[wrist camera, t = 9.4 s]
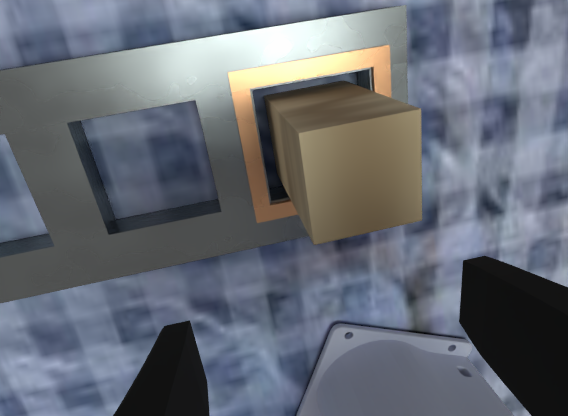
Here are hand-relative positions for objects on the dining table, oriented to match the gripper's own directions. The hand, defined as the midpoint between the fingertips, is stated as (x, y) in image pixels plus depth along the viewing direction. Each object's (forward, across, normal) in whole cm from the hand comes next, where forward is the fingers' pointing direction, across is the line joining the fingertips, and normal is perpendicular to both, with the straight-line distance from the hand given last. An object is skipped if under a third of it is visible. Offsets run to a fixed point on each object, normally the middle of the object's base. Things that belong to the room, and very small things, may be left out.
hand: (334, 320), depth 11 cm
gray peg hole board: (+10, +5, -2) cm, 11 cm away
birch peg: (+10, -2, -3) cm, 10 cm away
